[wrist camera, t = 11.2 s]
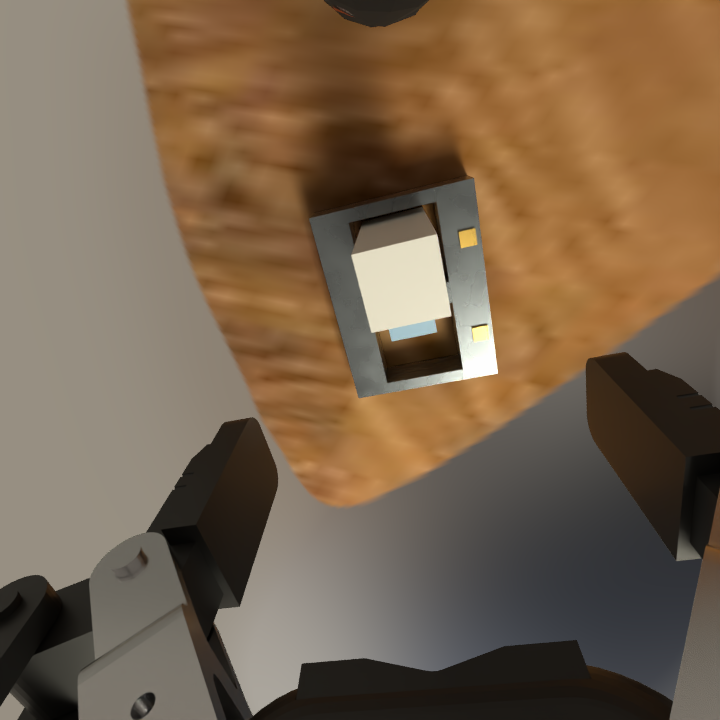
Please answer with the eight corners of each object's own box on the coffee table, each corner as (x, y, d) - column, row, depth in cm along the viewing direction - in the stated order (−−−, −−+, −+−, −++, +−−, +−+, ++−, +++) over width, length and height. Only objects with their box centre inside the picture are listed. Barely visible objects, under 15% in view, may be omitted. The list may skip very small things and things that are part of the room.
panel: (315, 212, 30) (308, 218, 27) (467, 175, 28) (474, 178, 26) (360, 381, 35) (358, 399, 32) (490, 358, 33) (498, 374, 31)
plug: (362, 221, 30) (351, 254, 21) (422, 206, 29) (437, 233, 20) (380, 293, 32) (376, 352, 23) (435, 281, 31) (455, 336, 22)
